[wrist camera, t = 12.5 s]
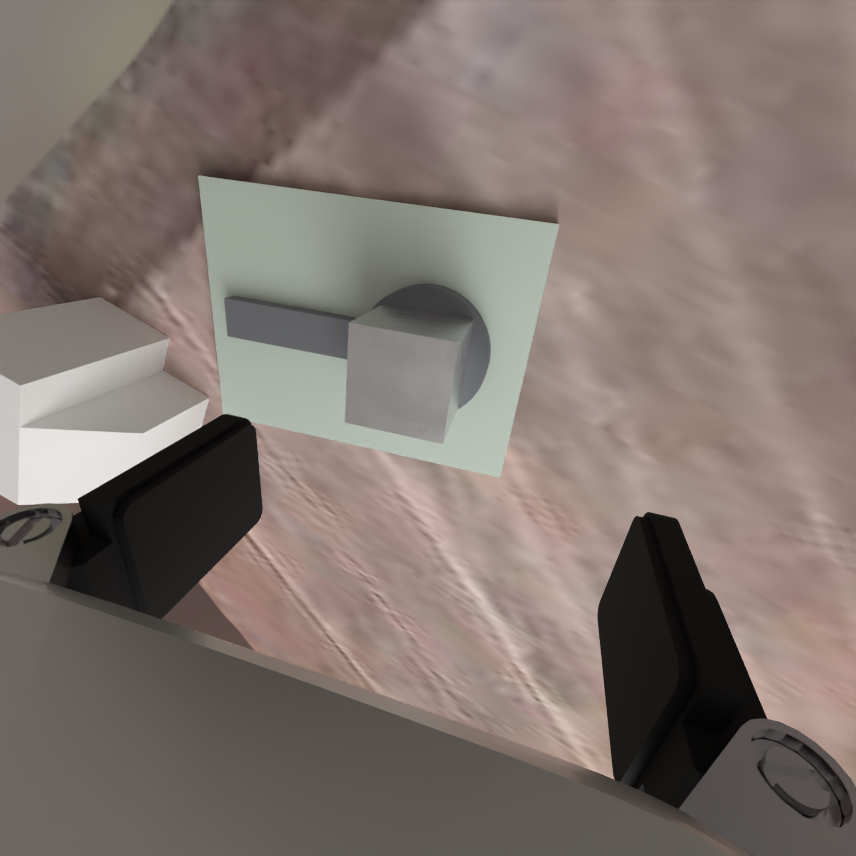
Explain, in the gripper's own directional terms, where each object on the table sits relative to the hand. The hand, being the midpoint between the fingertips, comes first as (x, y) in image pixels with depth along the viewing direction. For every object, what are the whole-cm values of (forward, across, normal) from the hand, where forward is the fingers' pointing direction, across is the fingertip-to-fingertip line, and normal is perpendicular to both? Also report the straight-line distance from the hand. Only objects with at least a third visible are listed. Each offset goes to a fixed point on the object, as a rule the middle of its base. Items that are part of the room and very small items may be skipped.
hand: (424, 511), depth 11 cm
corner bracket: (+21, +30, +10) cm, 38 cm away
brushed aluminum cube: (+19, +5, +2) cm, 20 cm away
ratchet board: (+22, +10, +2) cm, 24 cm away
